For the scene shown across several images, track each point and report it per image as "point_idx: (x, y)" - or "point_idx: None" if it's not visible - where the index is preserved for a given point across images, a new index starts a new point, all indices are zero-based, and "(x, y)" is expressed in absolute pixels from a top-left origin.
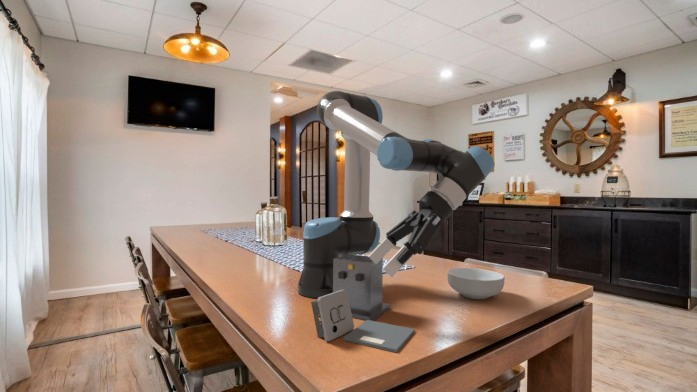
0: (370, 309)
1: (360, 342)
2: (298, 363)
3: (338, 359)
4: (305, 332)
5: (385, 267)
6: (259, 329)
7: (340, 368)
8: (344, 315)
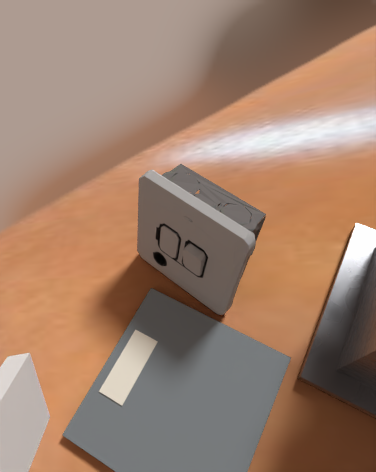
0: (341, 368)
1: (125, 332)
2: (51, 211)
3: (54, 283)
4: None
5: (2, 370)
6: (212, 119)
7: (14, 289)
8: (197, 272)
